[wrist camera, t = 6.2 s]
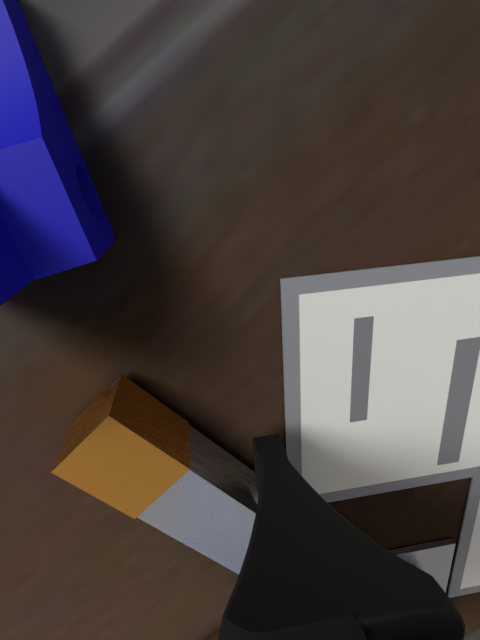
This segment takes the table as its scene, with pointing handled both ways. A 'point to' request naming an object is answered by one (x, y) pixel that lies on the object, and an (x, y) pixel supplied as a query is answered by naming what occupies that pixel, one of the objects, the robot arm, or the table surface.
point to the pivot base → (430, 558)
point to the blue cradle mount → (40, 171)
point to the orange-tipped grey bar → (161, 472)
